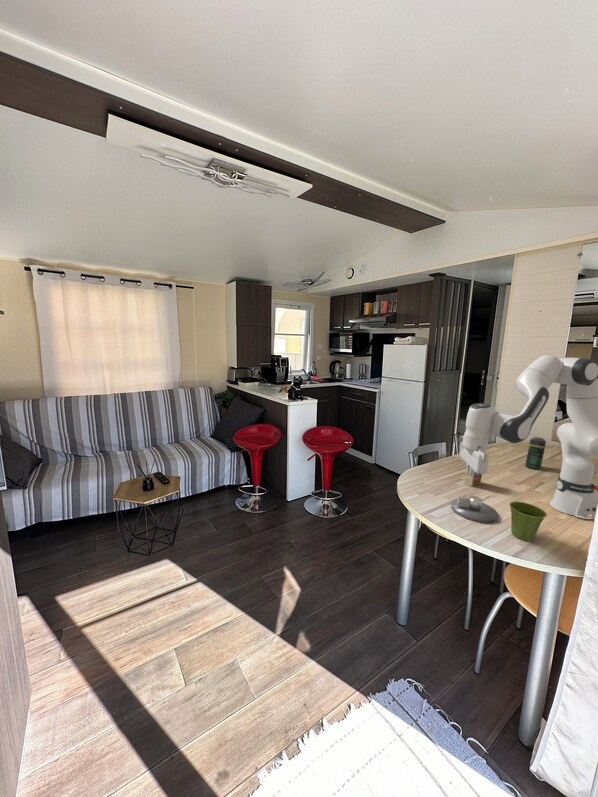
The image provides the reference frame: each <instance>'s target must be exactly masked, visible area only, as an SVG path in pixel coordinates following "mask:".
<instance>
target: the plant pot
mask: <svg viewBox="0 0 598 797" xmlns="http://www.w3.org/2000/svg"><path fill="white" fill-rule="evenodd" d="M509 507H510V513H511V525H510V527H511V530H510V531H511V534H512V535H513V536H514V537H515V538H517V537H518V539H519V540H520V539H522V540H524V541H526V540H528V541H529V542H530V541H531V542H532V541H533V540H534V539H535V537H536V535H537V532H538V530H539V528H540V525H541V524H542V523H543V521H544V518H547V517H548V514H547V512H546V511H545V510H543V509H542V508H540V507H538V506H536V505H533V504H530V503H528V502H523V501H511V502H509ZM528 541H527V542H528Z"/></svg>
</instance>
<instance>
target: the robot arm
mask: <svg viewBox="0 0 598 797" xmlns="http://www.w3.org/2000/svg"><path fill="white" fill-rule="evenodd" d="M515 382H516V384H515V386H516V388H517V390H518V392H519V394H521V395H522V396H523V397H524V398H526V399H527V402H526V404H525V405H524V407H523V408H522V410H521V411H520V413H519V414H517V415H510V414H506V413H503V412H500V411H498V410H496V409H494V408H493V406H492V405H491V404H489V403H484V402H483V403H480V402H478V403H473V404H471V405H470V407H469V409H468V410H467V411H468V412H467V415H466V420H465V432H464V434H463V435H462V436H460V437H459V441H460V443H459V457H460V458H461V459H462V460H463V461H464V462H465V463H466V472H467V474H468V475H469V476H470V477H474V473H475V472H476V473H480V474H482V475H485V474H486V473H487V472H488V465H489V464H488V463H489V456H488V455H487V453H486V451H487V450H488V445H489V444H488V443H489V439H490V435H492V436H494V437H497V438H500V439H503V440H504V441H507V442H509V443H511V444H519V443H521V442H523V441H525V440H526V439H527V438H528V437H529V435H530V432H531V429H532V427H533V425H534V424H535V422H536V421H537V419H538V418H539V416H540V414H541V412H542V411H543V409H544V407H545V406H546V404H547V403H548V400H549V398H550V391H549V388H550V387H551V386H552V385H553V384H560V385H566V392H565V395H566V396H565V398H566V414H567V416H568V417H569V419H570V420H571V422H565V423H563V424H561V425H560V426H559V427H557V430H556V436H557V438H558V440H559V442H560V448H561V455H562V457H561V459H562V462H561V469H560V473H559V475H558V478H557V482H556V489H555V492H554V494H553V497H552V498H551V500H550V502H549V505H550V507H552V508H553V509H554V510H556V511H559V512H561V513H564V514H565V515H569V514H570V516H572V515H574V516H573V517H575V516H576V517H575V518H577V517H579V518H582V519H581V520H583V519H587V518H589V517H588V515H589V514H592V517H590V518H592V519H593V520H592V521H595V520H594V515H595V512H596V506H597V504H598V494H597V493H596V492H595V491H597V492H598V485H597V484H593V483H592V482H593V477H594V473H595V465H594V463H593V460H592V459H591V457H596V458H598V363H597V361H596V360H594V359H592V358H587V357H572V356H571V357H561V358H560V357H559V358H558V357H556V356H555V355H552V354H551V355H550V354H543V355H541V356H540V357H538V358H537V359H535V360H534V361H533V362H532V363H530V364H529V365H528V366H527V367H526V368H525V369H524V370H523V371H522V372H521V373H520V374H519V376H518V377H517V379H516V381H515ZM579 518H578V519H579Z"/></svg>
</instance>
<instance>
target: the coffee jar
mask: <svg viewBox="0 0 598 797" xmlns="http://www.w3.org/2000/svg"><path fill="white" fill-rule="evenodd" d="M546 443H547V440H545V439H544V438H541V437H536V436H535V437H532V438H530V439H529V444H528V450H527V452H526V454H527V455H526V460H525V463H524V464H525V467H526V468H529V469H531V470H540V469H541V468H542V463H543V459H544V455H545V448H546Z"/></svg>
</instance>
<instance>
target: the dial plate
mask: <svg viewBox="0 0 598 797" xmlns="http://www.w3.org/2000/svg"><path fill="white" fill-rule="evenodd" d="M457 500H458V498H456V499H454V500H452V501H451V506H450V507H451V508H450V509H451V510H452V511H453V512H454V513H455V514H457V515H458V516H460V517H462V518H463V519H466V520H469V521H471V522H476V523H481V524H491V523H495V522H497V520H498V518H499V514H498V512H497V510H496V509H495V508H493V507H492V506H491V505H488V504H486V503H484V502H482V504H481V510H479V511H476V510H472V509H470V508H465V507H458V506H457Z"/></svg>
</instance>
